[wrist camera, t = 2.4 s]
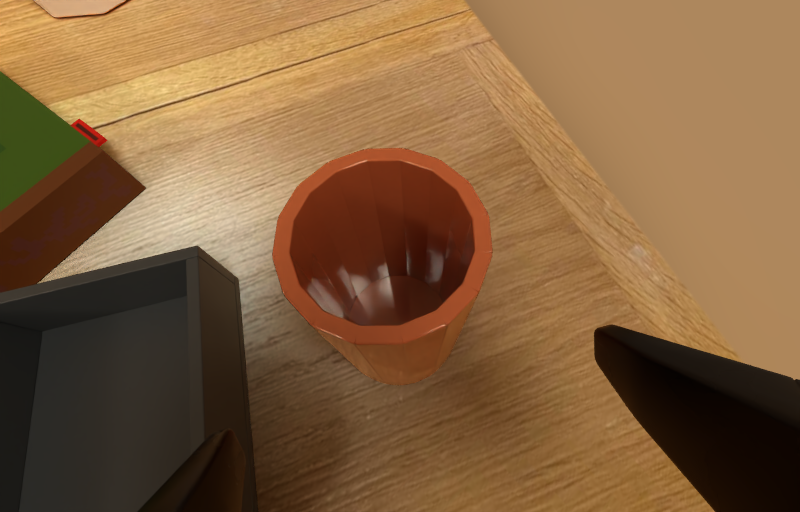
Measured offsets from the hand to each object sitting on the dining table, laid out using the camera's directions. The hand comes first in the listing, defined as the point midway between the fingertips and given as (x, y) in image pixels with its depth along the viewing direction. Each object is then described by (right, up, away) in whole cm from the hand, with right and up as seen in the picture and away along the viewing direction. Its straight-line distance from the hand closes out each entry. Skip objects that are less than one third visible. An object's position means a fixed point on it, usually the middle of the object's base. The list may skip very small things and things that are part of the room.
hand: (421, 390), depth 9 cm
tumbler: (-1, -1, +12) cm, 12 cm away
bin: (-14, -6, +10) cm, 18 cm away
